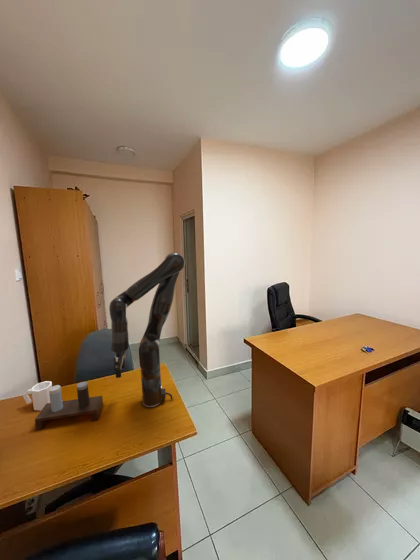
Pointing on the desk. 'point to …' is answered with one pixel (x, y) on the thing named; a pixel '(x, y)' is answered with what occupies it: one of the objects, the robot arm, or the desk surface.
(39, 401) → the mug
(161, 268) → the robot arm
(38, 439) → the desk surface
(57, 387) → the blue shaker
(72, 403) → the desk shelf
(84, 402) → the dark shaker
